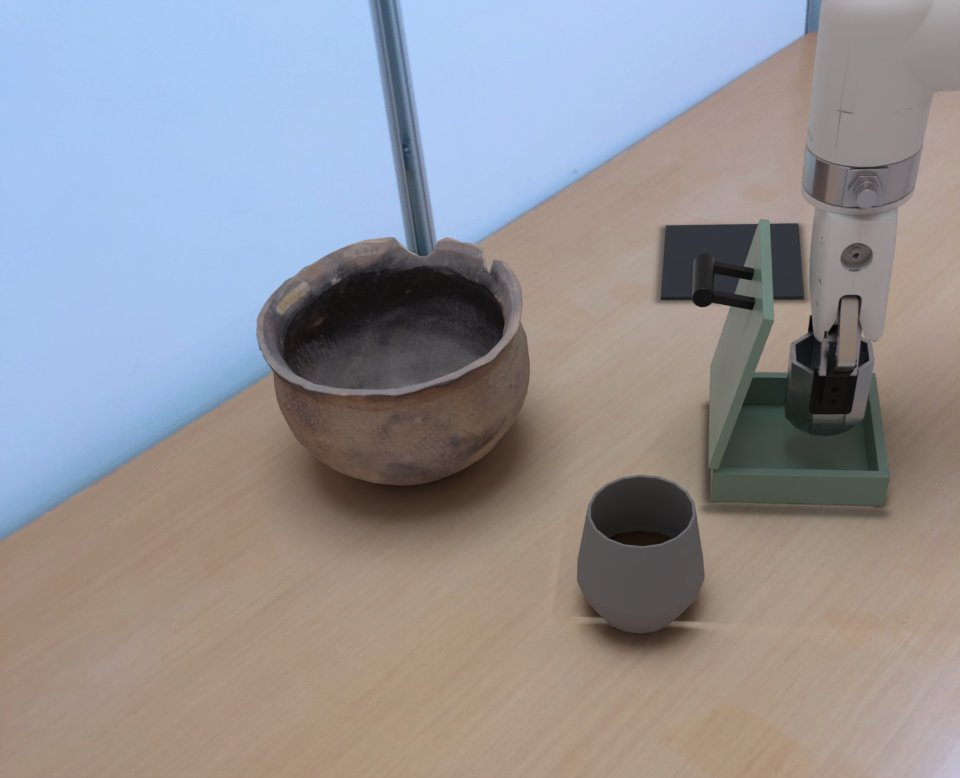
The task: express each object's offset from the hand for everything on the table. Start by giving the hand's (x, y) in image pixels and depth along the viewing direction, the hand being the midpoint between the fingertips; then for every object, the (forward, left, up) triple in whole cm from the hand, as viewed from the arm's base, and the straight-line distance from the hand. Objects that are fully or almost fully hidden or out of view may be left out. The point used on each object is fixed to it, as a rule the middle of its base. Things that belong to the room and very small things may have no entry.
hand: (827, 383), depth 88 cm
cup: (+14, +18, -8) cm, 24 cm away
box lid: (+7, 0, +4) cm, 8 cm away
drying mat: (+7, -31, -8) cm, 33 cm away
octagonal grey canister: (0, 0, -3) cm, 3 cm away
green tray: (+2, 0, -8) cm, 8 cm away
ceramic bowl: (+35, 0, -8) cm, 36 cm away
